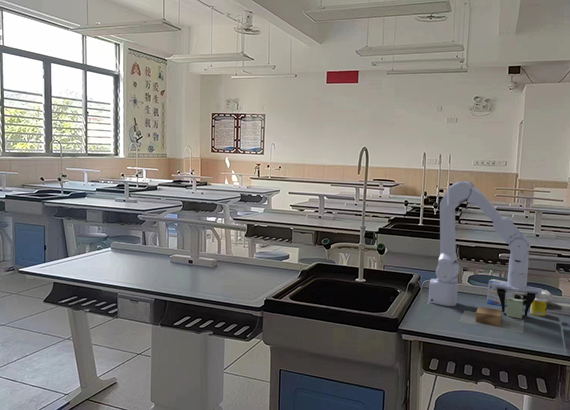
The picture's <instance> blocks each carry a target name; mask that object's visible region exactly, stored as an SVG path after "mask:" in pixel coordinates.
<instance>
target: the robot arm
mask: <svg viewBox="0 0 570 410" xmlns="http://www.w3.org/2000/svg"><path fill="white" fill-rule="evenodd" d="M484 194H485V193H483V192H482V191H481V190H480V189H479V188H478V187H476V186H475V184H474V183H473V182H472V181H469V180H461V181H459V180H458V181H456V182H454V183H453V184H452V185H450V186H448V188H447V191H446V192H445V194H444V195H443V197H442V198H441V200H440V202H439V228H440V229H439V245H440V246H439V247H440V249H439V250H440V252H439V253H440V254H439V257H438V261H437V262H438V263H437V267H436V269H435V276H436V278H430V279H429V280H430V281H429V286H428V300H427V305H429V304H436V305H441V306H446V307H455V306H456V305H457V303H458V302H457V300H458V291H459V289H458V288H459V287H458V286H459V279H458V276H459V274H460V272H461V266H460V264H459V262H458V255H457V253H456V208H457V207H459V206H460V205H461V203H462V202H465V201H466V202H467V203H471V204H474V205H476V206H477V207H478V208H479V209H480V211H482V212H483V213H484V214H485V215H486V216H487V218H489V219H490V220H491V221H492V223H493V225H492V229H493V230H494V231H495V232H496V233H497V235H499V236H500V238H501V240H503V241H504V243H506V244H508V248H509V251H510V256H509V260H508V269H507V271H508V272H507V281H506V282H507V283H496V282H493V283H492V289H497V294H498V296H499V299H500V302H501V306H500V307H501V310H502V313H505V311H506V309H505V308H506V307H505V293H506V290H507V291H514V292H521V293H527V300H526V303H525V309H524V317H528V314H529V313H528V312H529V310H530V308H531V304H532V302H533V301H534V299H535V297H536V295H539V296H541V292H542V290H543V289H542V288H540V287H539V288H538V287H533V286H529V285H527V283H528V273H529V271H528V270H529V263H530V262H529V261H530V260H529V257H530V254H529V253H530V251H529V250H530V248H531V240H530V239H529V237H528V236H527V235H525V233H524V232H523V231H520V229H519V228H518V227H517V226H516V225H515V221H514V220H513V218H509V217H508V216H502V215H501V214H500V212H499V211H498V210H497V209H496V207H494V205H493V204H492V203H491V202H490V201H489V199H488V198H487V196H485V195H484Z"/></svg>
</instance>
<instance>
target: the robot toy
mask: <svg viewBox="0 0 570 410" xmlns="http://www.w3.org/2000/svg"><path fill="white" fill-rule="evenodd" d="M542 292H545V293H547V297H546V299H547V302H550V303H551V302H552V299H553V298H552V296H553V294H552V293H551V292H549V290H548V289H542ZM514 299H520V300H523V302H525V301H526V300H527V293H521V292H515V295H514Z"/></svg>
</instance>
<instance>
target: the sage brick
mask: <svg viewBox="0 0 570 410" xmlns="http://www.w3.org/2000/svg"><path fill="white" fill-rule="evenodd" d="M523 307H524V301H523V300H520V299H513V298H508V303H507V307H506V314H505V315H506V316H505V317H509V318H515V319H522V318H523Z"/></svg>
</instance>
